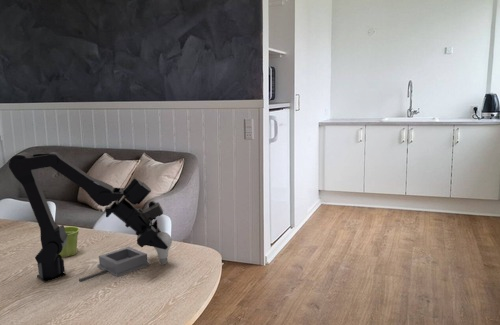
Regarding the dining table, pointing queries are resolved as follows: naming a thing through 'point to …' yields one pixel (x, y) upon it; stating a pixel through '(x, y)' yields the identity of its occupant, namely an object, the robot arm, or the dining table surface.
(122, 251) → the grey square pan
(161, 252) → the lightbulb
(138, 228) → the robot arm
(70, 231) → the plant pot
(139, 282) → the dining table surface
